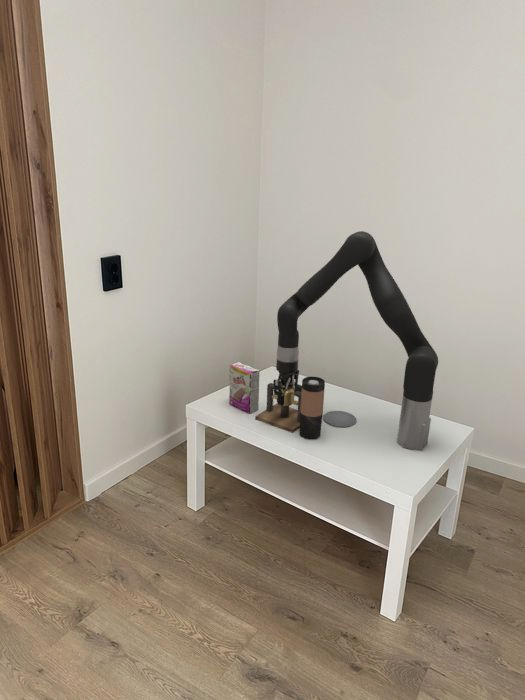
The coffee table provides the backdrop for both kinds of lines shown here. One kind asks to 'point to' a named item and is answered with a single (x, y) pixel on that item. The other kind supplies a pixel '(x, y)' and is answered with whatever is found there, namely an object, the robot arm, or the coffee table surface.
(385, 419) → the coffee table surface
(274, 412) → the stand
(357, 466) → the coffee table surface
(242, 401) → the candy bar box
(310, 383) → the travel mug
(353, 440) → the coffee table surface
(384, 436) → the coffee table surface
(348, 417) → the coaster
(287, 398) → the brass pipe fitting
